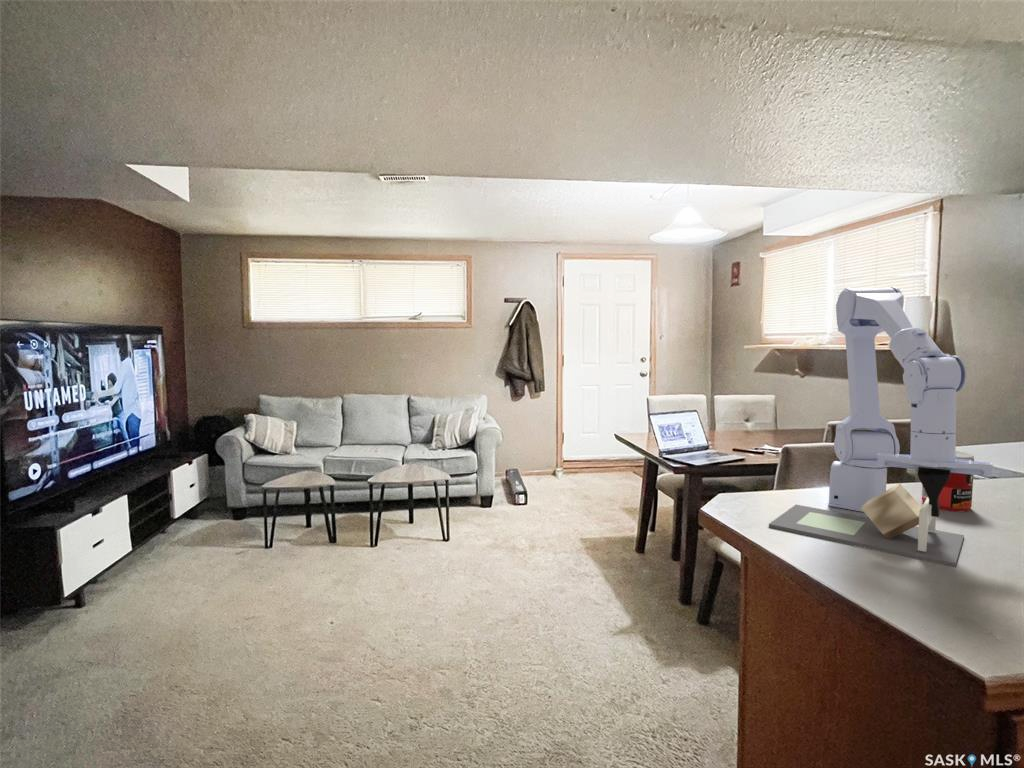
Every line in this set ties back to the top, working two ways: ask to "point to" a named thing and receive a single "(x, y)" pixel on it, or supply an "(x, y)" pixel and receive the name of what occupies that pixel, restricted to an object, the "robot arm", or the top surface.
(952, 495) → the canned food
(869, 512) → the birch cube
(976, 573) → the top surface
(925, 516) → the gate
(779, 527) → the rubber mat
